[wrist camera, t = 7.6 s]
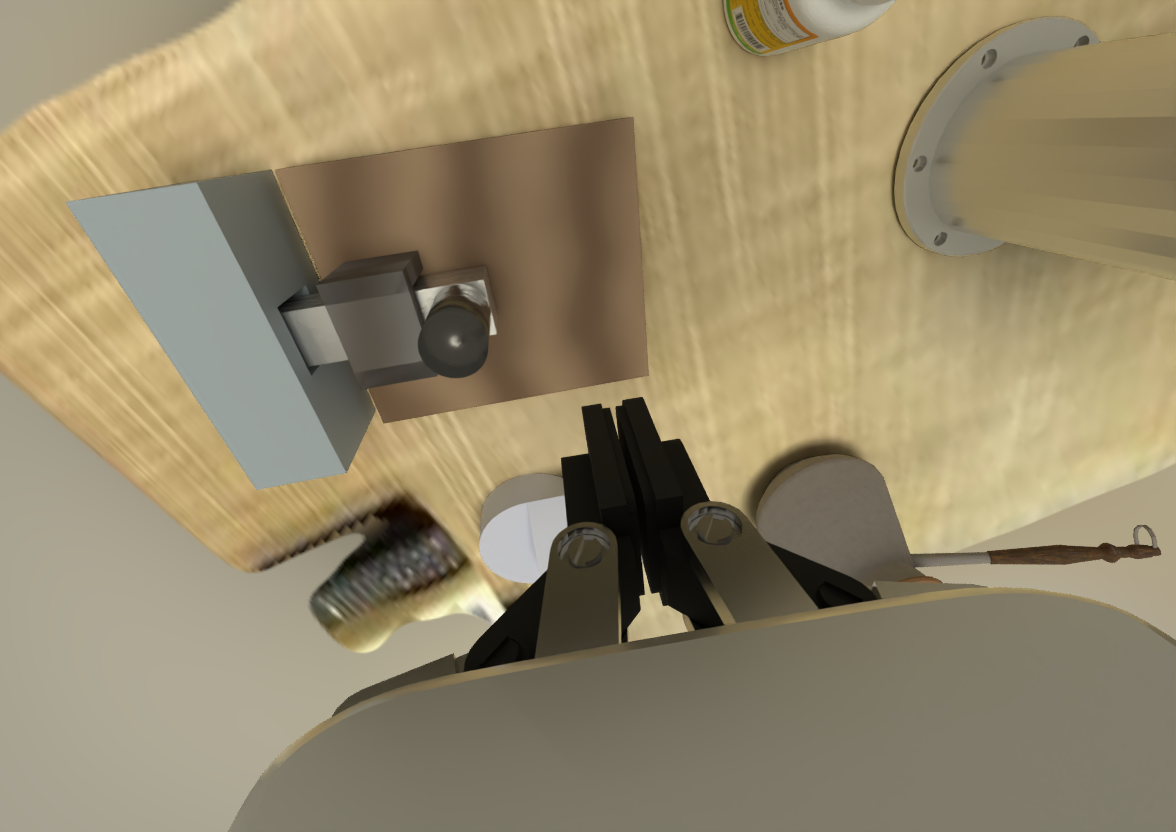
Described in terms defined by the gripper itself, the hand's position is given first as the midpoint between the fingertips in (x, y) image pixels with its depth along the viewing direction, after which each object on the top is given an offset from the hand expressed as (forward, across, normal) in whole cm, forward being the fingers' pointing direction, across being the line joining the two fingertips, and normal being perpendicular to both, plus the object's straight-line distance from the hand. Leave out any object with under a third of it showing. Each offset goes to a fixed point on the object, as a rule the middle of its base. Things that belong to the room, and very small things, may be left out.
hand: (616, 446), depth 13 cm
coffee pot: (+21, -23, +22) cm, 38 cm away
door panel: (+19, +5, 0) cm, 20 cm away
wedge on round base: (+20, +4, +20) cm, 28 cm away
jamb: (+19, +17, 0) cm, 25 cm away
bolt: (+17, +11, 0) cm, 20 cm away
